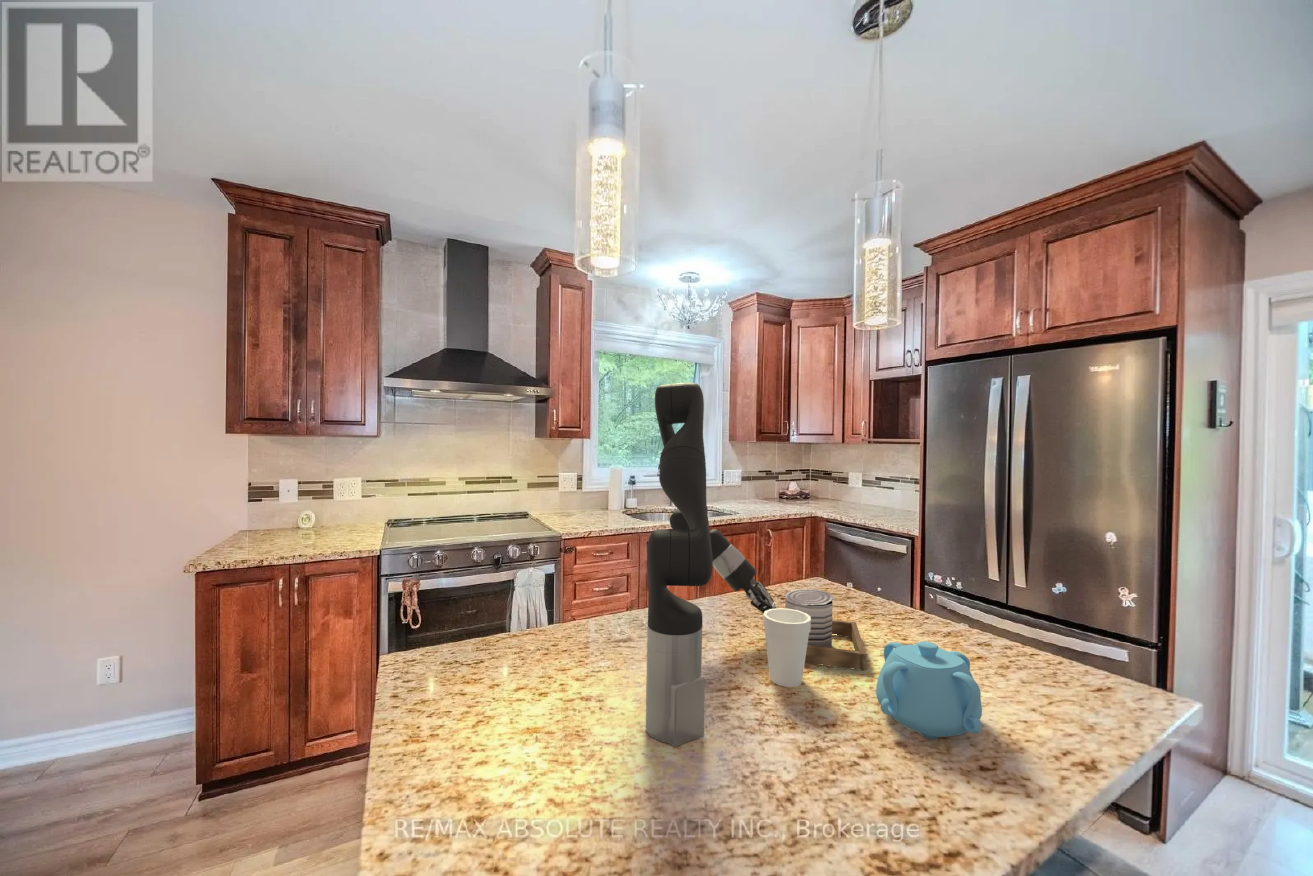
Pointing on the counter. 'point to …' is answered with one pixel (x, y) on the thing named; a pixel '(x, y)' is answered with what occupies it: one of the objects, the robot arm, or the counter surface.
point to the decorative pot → (929, 690)
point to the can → (814, 613)
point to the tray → (840, 655)
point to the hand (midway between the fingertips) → (782, 622)
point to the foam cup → (786, 644)
